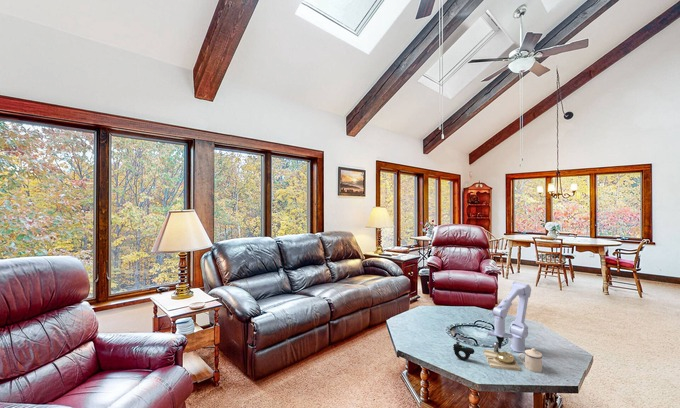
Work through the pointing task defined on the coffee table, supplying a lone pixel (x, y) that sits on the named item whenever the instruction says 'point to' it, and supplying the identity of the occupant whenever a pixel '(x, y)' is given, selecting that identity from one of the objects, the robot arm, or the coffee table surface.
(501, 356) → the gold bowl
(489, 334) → the robot arm
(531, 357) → the teacup with lid
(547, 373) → the coffee table surface
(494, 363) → the slatted wooden board
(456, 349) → the controller
